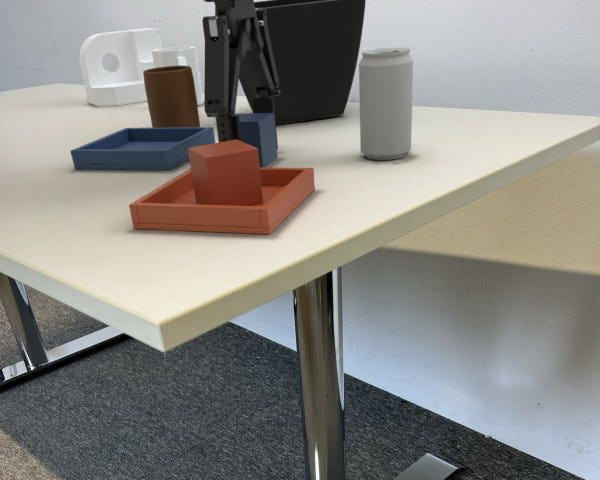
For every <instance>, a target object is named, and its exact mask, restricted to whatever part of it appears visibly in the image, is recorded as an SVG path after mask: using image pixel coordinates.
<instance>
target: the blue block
mask: <svg viewBox="0 0 600 480" xmlns="http://www.w3.org/2000/svg"><path fill="white" fill-rule="evenodd" d="M235 115H239V120H240V129H241V137H242V142H244V143H246V144H249V145H251V146H254V147H256V148H258V156H259V166H260V167H266V166H268V165H269V164H271V163H272V162H273V161H275V160H276V159H278V158H279V157H278V155H279V154H278V149H277V143H276V131H277V130H276V131H275V119H274V113H253V112H245V113H244V112H240V113H239V112H237V113H236V112H235Z"/></svg>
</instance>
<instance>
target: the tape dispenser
mask: <svg viewBox="0 0 600 480" xmlns="http://www.w3.org/2000/svg"><path fill="white" fill-rule="evenodd" d="M161 48H163V46H162V40H161V35H160V28H156V27H155V28H154V27H153V28H152V27H145V28H135V29H126V30H117V31H109V32H108V31H107V32H99V33H94V34H92V35H90V36H89V37H87V38H86V39H85V40H84V41H83V43H82V45H81V47H80V48H79V56H78V61H79V67H80V72H81V76H82V79H83V84H84V89H85V93H86V98H87V101H88V103H89V104H91V105H94V106H96V107H111V106H123V105H131V104H137V103H142V102H147V96H146V91H145V85H144V75H143V71H145V70H148V69H152V68H155V67H154V61H153V55H152V51H153V50H155V49H161ZM107 54H108V55H109V56H110V57H111V59H112V66H111V68H110V69H108V70H106V69H105V68H104V66H103V58H104V57H105V56H106V55H107Z"/></svg>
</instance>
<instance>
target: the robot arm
mask: <svg viewBox="0 0 600 480" xmlns="http://www.w3.org/2000/svg"><path fill="white" fill-rule="evenodd" d="M203 1H204V2H205V3H214V15H207V16H202V22H201V23H202V30H203V38H204V93H203V94H204V95H203V104H204V105H203V106H204V112H205V114H206V115H205V116H206V117H207V118H215V124H216V132H217V139H218V143H219V142H225V141H230V140H236V139H237V140H239V141H242V137H241V129H240V120H239V115H235V113H236V106H237V99H238V90H239V82H240V81H239V73H240V64H241V61H242V60H243V62H244V65H245V68H246V70H247V73H248V76H249V79H250V81H251V84H252V87H253V90H254V92H255V95H256V96H257V97H259V98H253V108H254V113H274V119H275V108H274V97H272V96H280V88H278V87H279V80H278V75H277V71H276V66H275V61H274V56H273V51H272V47H271V42H270V37H269V32H268V26H267V15H266V9H265V8H255V5H254V2H255V1H254V0H203ZM275 131H276V143H277V150H279V145H278V144H279V143H278V132H277V125H276V119H275Z"/></svg>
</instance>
